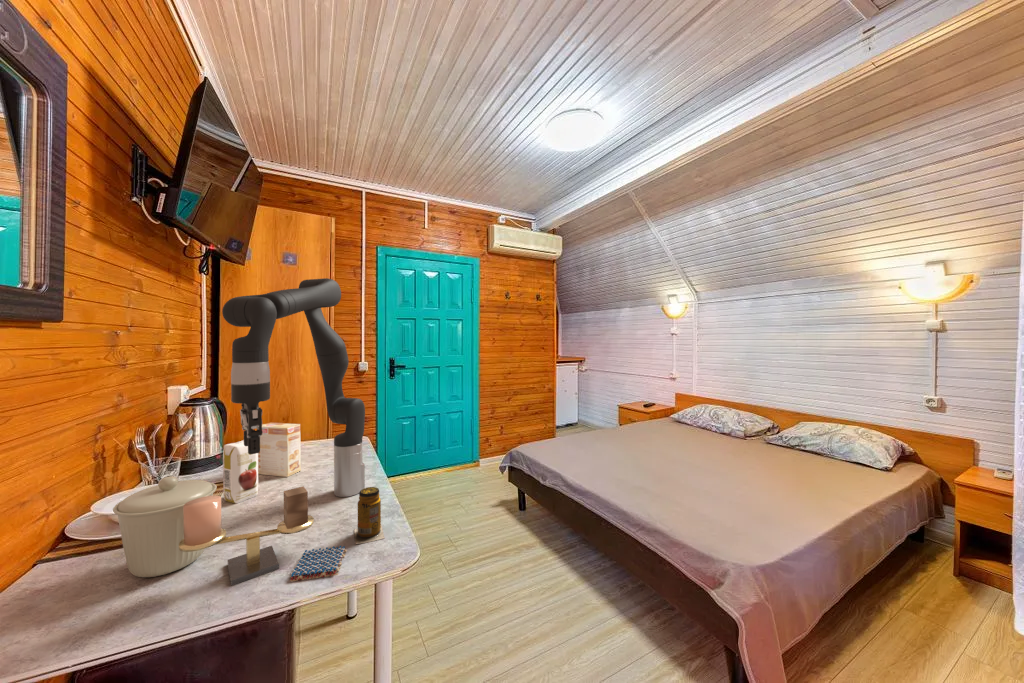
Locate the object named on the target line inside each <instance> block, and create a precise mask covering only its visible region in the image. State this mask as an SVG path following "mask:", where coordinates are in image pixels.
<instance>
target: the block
mask: <svg viewBox="0 0 1024 683" xmlns="http://www.w3.org/2000/svg"><path fill="white" fill-rule="evenodd" d="M308 493H309V492H308V490H307V488H305V487H304V485H303V486H300V487H295V488H290V489H287V490H283V521H284V523H285V525H286V527H287V529H290V528H293V527H296V526H300V525H303V524H306V523H308V515H309V510H308V509H309V505H308V504H309V503H308V501H309V497H308V496H309V494H308Z"/></svg>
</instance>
